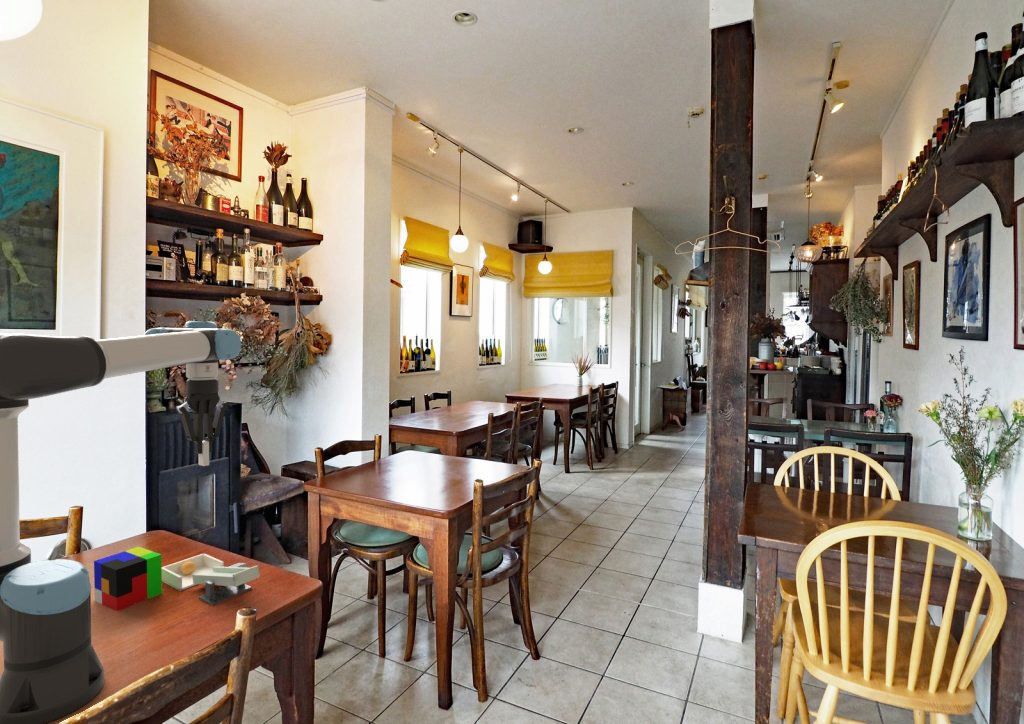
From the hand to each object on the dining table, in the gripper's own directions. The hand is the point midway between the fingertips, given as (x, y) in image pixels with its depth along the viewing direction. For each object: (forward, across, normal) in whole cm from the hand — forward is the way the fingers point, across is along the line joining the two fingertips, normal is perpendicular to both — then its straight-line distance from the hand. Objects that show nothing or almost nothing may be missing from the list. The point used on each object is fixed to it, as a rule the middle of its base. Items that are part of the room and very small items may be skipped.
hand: (203, 464), depth 144 cm
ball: (+27, -4, 0) cm, 28 cm away
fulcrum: (+29, -4, -18) cm, 35 cm away
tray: (+29, -4, -2) cm, 30 cm away
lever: (+26, -1, -18) cm, 31 cm away
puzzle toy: (+30, -18, 0) cm, 35 cm away
